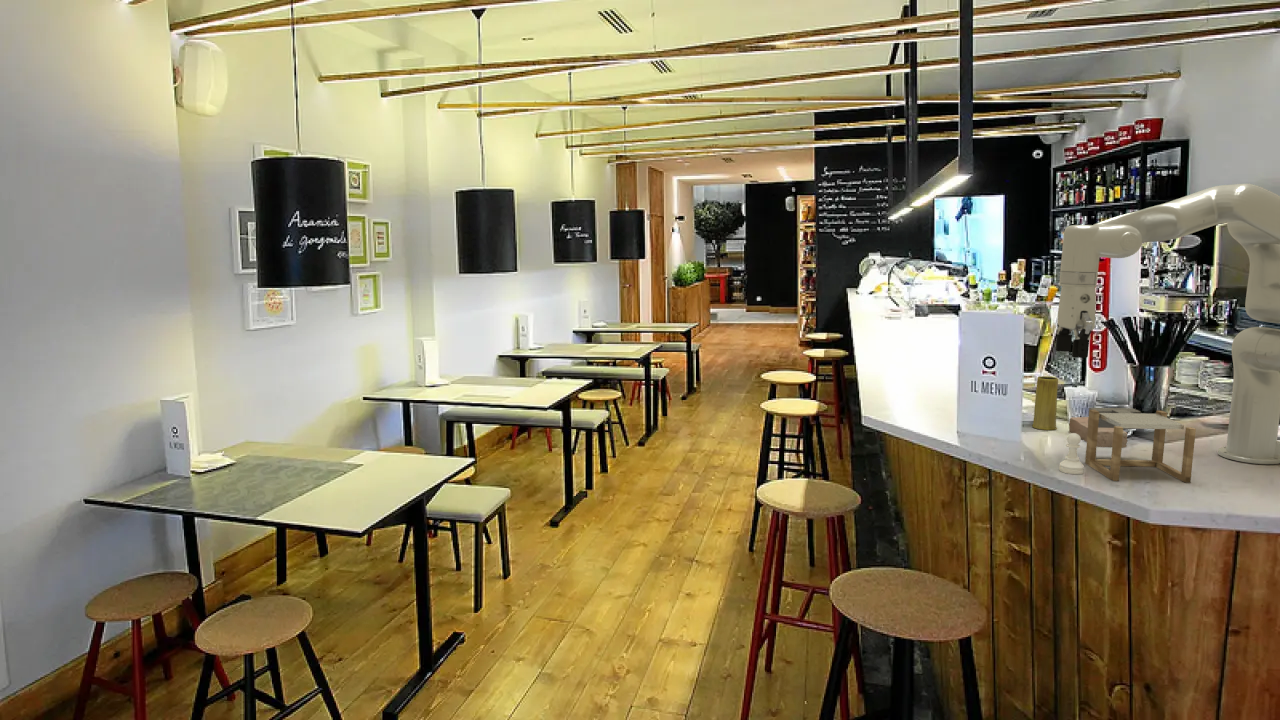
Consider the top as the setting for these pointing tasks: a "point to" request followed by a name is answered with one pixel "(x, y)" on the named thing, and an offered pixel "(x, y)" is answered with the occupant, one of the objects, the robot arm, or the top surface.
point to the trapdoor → (1133, 419)
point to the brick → (1104, 434)
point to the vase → (1045, 403)
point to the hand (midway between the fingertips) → (1071, 354)
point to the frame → (1155, 462)
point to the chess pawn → (1072, 456)
